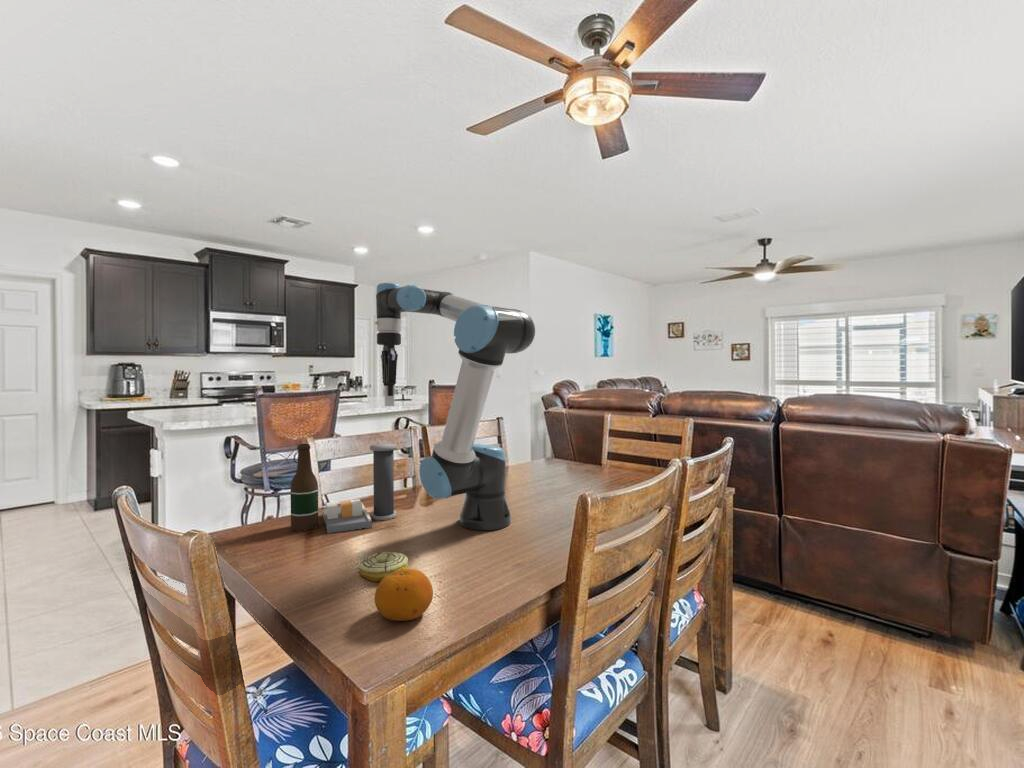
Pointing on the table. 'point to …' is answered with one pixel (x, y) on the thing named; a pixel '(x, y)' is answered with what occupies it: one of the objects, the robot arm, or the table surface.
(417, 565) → the table surface
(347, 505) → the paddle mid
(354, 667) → the table surface
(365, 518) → the panel
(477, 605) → the table surface
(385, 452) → the tall grey cylinder
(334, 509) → the paddle left
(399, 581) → the fruit
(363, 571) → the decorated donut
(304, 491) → the beer bottle
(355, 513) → the paddle right
